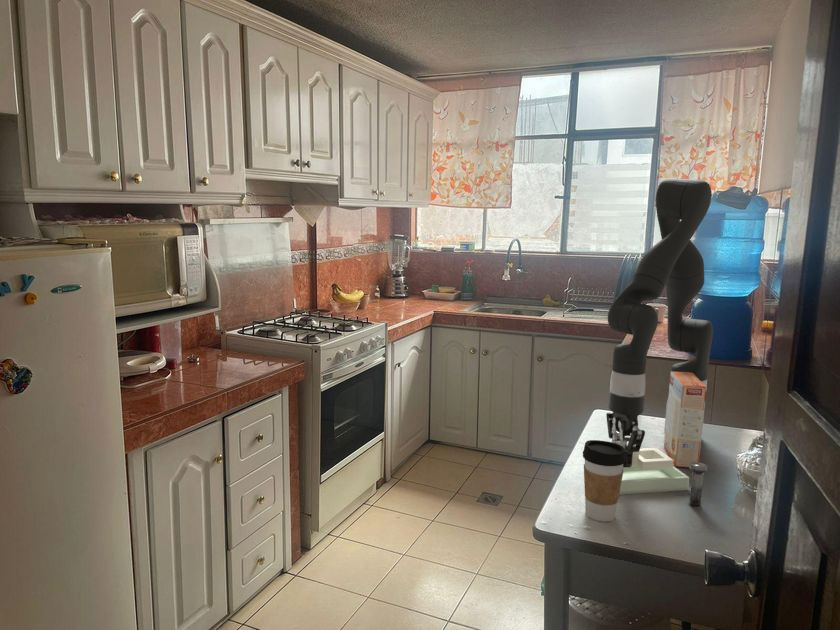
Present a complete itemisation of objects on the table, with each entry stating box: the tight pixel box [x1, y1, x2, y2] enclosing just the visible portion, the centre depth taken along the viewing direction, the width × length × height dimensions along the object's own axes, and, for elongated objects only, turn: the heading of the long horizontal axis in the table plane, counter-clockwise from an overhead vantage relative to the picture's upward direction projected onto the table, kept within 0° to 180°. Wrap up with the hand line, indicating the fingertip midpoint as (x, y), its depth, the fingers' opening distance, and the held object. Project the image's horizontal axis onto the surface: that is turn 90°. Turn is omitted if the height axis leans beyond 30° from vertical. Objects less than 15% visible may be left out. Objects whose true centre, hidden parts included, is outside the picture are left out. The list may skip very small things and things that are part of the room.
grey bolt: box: [688, 461, 708, 508], centre depth 130 cm, size 3×3×9 cm
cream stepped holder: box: [610, 440, 674, 470], centre depth 141 cm, size 12×8×5 cm, turn 100°
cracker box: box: [663, 371, 708, 469], centre depth 154 cm, size 14×6×21 cm, turn 168°
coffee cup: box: [582, 439, 626, 523], centre depth 124 cm, size 8×8×15 cm
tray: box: [619, 458, 690, 496], centre depth 142 cm, size 13×18×3 cm
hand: (621, 462), depth 140 cm, fingers closed on cream stepped holder, 3 cm apart
